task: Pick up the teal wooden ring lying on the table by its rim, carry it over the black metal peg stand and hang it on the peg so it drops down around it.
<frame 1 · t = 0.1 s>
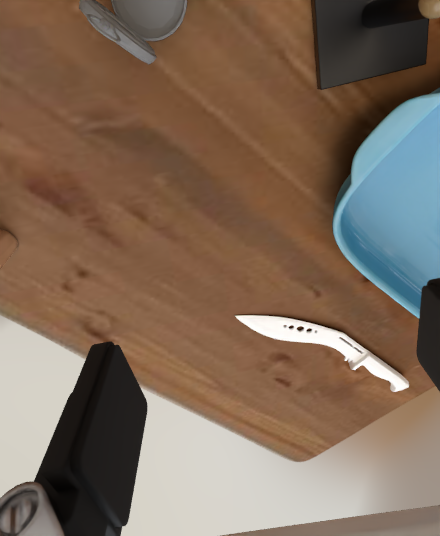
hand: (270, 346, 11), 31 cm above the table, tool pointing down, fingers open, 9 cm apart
knife: (325, 347, 54), on the table
pocket watch: (141, 8, 32), on the table
milkshake: (1, 239, 43), on the table
stand: (367, 16, 33), on the table
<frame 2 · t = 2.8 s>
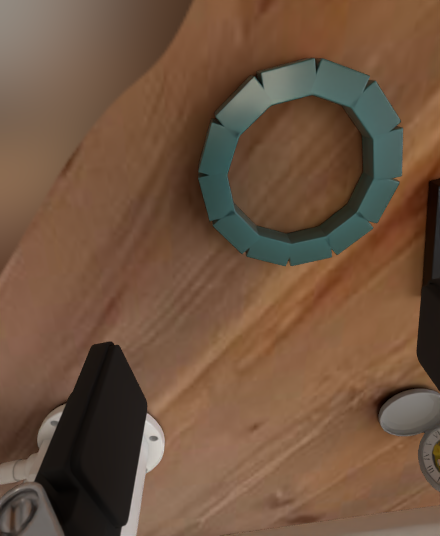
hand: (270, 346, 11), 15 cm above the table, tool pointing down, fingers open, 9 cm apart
ring: (294, 169, 24), on the table
pocket watch: (413, 410, 37), on the table
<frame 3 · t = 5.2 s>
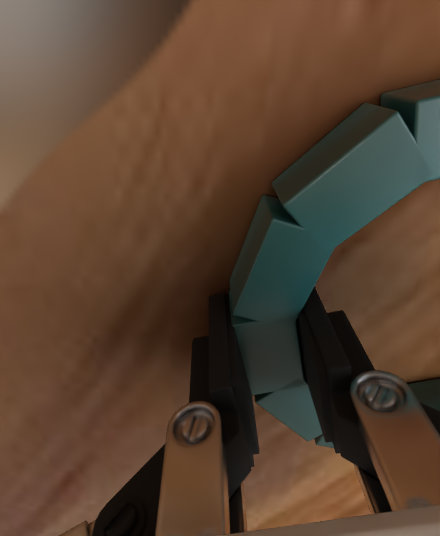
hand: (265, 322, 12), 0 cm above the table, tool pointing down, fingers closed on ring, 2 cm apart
ring: (424, 289, 12), on the table, touching gripper
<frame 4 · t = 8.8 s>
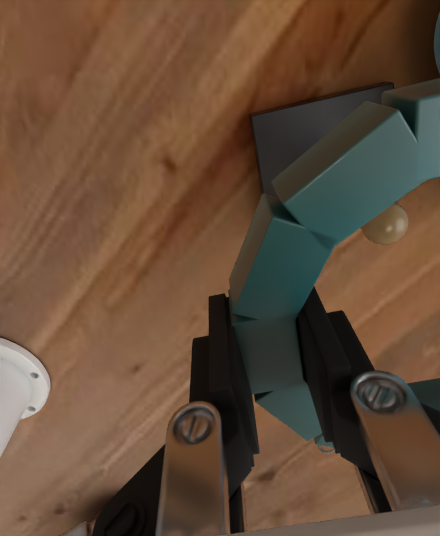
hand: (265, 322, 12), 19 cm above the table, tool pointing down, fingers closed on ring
ring: (424, 288, 12), point 19 cm above the table, touching gripper
stand: (321, 165, 28), on the table
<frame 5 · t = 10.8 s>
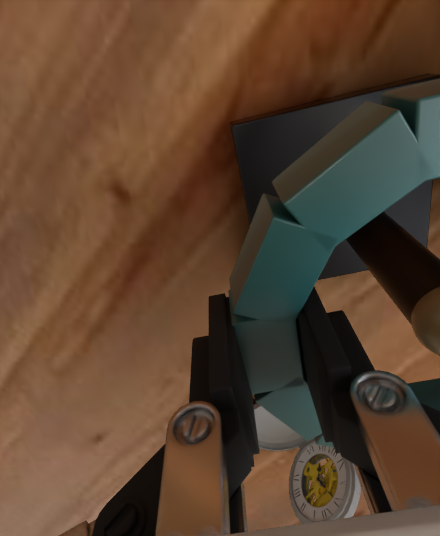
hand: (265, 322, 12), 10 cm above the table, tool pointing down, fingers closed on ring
ring: (424, 288, 12), point 10 cm above the table, touching gripper
pocket watch: (287, 420, 31), on the table
stand: (332, 192, 20), on the table
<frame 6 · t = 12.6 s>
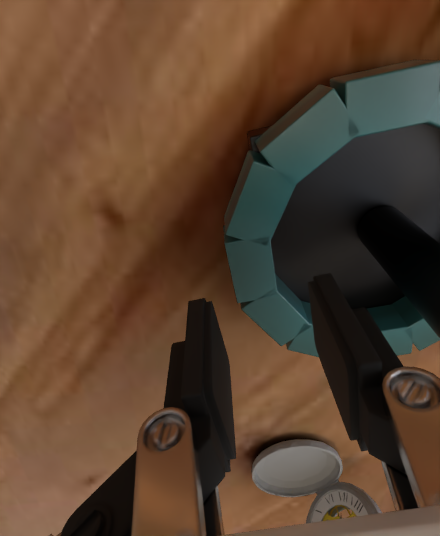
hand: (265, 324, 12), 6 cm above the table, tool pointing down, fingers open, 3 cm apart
ring: (368, 228, 16), point 1 cm above the table, touching stand
pocket watch: (303, 463, 27), on the table
stand: (369, 216, 17), on the table
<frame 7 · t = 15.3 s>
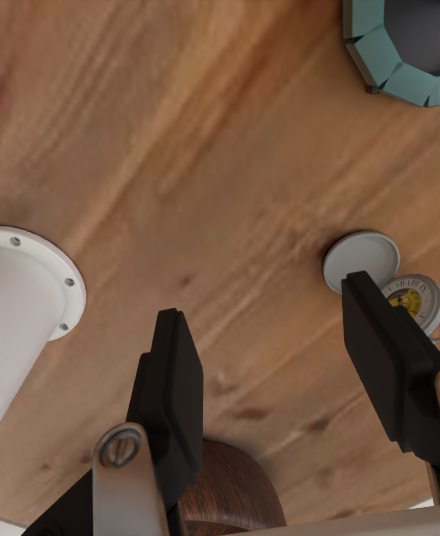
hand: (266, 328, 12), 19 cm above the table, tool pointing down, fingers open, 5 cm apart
wooden bowl: (194, 477, 51), on the table
pocket watch: (364, 268, 33), on the table
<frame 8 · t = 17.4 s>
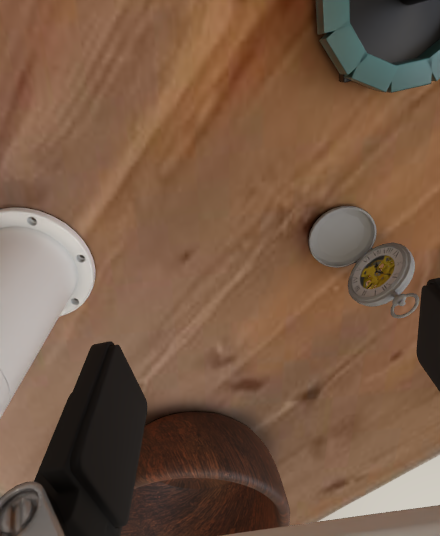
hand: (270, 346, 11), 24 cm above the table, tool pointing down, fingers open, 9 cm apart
wooden bowl: (195, 450, 54), on the table
pocket watch: (345, 241, 37), on the table
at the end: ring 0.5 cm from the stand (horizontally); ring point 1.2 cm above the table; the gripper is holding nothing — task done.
